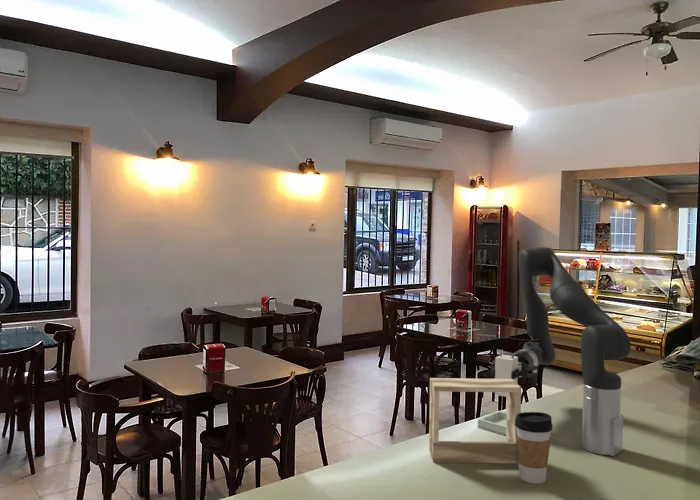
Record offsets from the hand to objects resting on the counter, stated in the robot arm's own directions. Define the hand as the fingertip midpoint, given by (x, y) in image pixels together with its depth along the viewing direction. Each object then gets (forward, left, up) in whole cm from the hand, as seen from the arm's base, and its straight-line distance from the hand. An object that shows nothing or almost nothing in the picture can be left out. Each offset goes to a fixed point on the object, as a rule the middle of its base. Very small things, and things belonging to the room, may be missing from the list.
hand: (503, 374), depth 165 cm
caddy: (+1, -3, -6) cm, 7 cm away
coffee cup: (-22, +24, -17) cm, 36 cm away
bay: (-5, +23, -16) cm, 28 cm away
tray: (0, -2, -16) cm, 17 cm away
